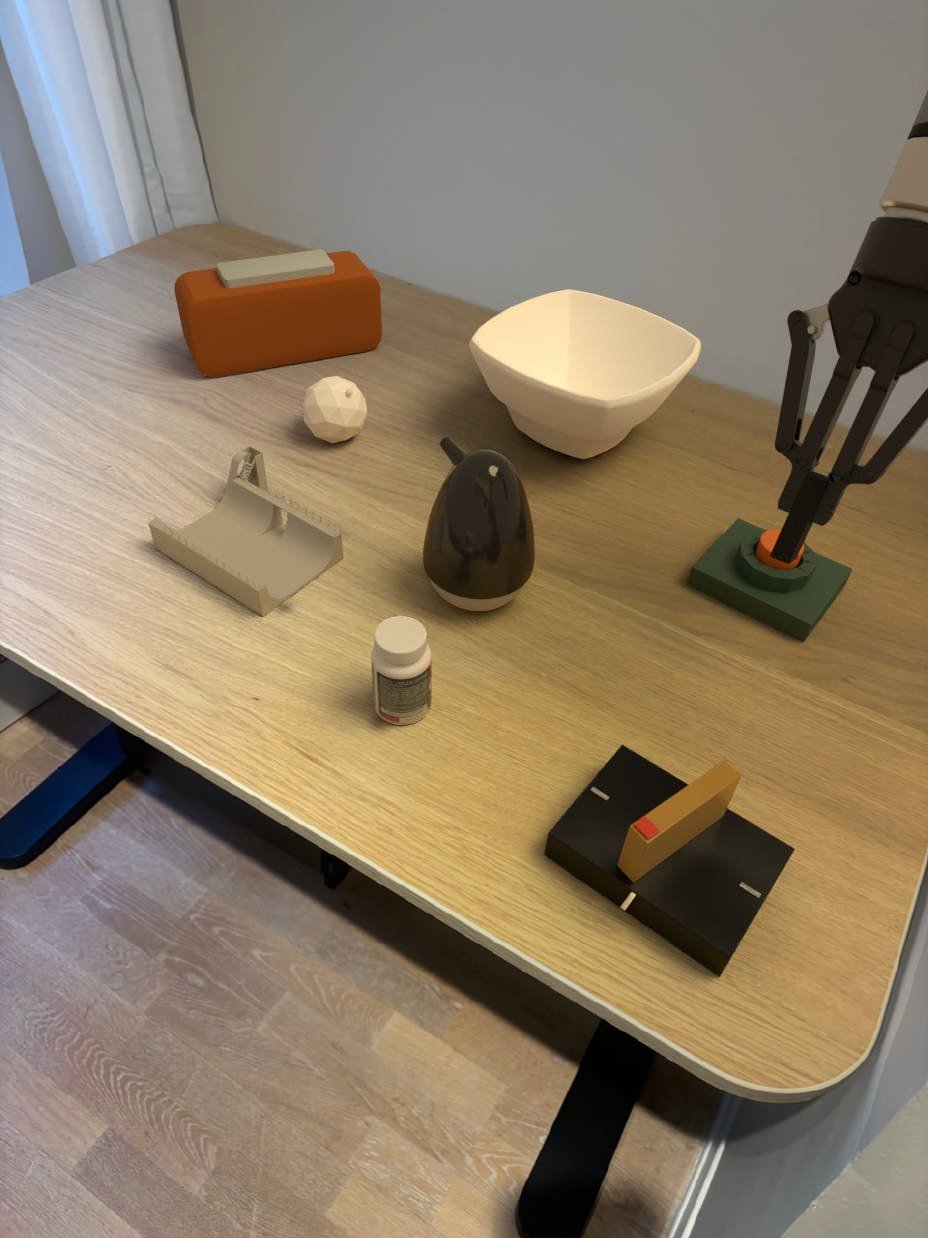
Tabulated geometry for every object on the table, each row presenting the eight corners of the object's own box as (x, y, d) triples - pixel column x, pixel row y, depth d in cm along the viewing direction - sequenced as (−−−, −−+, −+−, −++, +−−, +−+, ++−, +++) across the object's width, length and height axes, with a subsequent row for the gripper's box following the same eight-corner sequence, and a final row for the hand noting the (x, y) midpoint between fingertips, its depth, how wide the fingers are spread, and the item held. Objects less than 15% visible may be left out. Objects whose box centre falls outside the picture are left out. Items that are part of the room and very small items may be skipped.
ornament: (354, 411, 104) (384, 376, 97) (344, 463, 101) (374, 430, 94) (299, 386, 100) (327, 349, 94) (287, 439, 97) (314, 404, 91)
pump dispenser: (477, 540, 88) (485, 407, 77) (552, 594, 82) (572, 459, 72) (398, 584, 83) (396, 448, 72) (473, 645, 77) (483, 508, 67)
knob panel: (791, 855, 64) (805, 832, 61) (708, 997, 56) (720, 976, 54) (626, 754, 69) (633, 730, 67) (530, 870, 62) (535, 847, 60)
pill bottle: (441, 712, 72) (444, 642, 66) (391, 735, 70) (389, 665, 64) (413, 674, 75) (412, 604, 69) (363, 696, 73) (359, 625, 67)
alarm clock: (362, 321, 120) (358, 238, 112) (383, 349, 115) (380, 263, 107) (186, 350, 113) (168, 262, 105) (199, 381, 107) (182, 291, 99)
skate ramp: (155, 547, 85) (143, 506, 81) (256, 486, 93) (249, 445, 89) (263, 616, 79) (255, 574, 75) (361, 544, 87) (359, 503, 83)
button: (805, 555, 82) (811, 541, 81) (788, 576, 80) (794, 562, 79) (766, 537, 84) (771, 523, 83) (748, 558, 82) (753, 543, 80)
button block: (844, 585, 85) (859, 554, 82) (804, 642, 79) (818, 610, 76) (732, 534, 90) (742, 503, 87) (686, 583, 84) (696, 552, 81)
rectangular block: (707, 800, 63) (725, 757, 59) (723, 816, 62) (743, 773, 58) (616, 865, 59) (630, 823, 55) (633, 883, 58) (647, 841, 54)
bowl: (554, 365, 114) (565, 277, 105) (703, 431, 104) (727, 340, 95) (440, 432, 101) (442, 338, 93) (596, 514, 91) (613, 417, 83)
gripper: (1040, 261, 57) (876, 584, 66) (844, 213, 62) (717, 518, 72) (1042, 245, 51) (860, 603, 60) (824, 193, 56) (688, 530, 65)
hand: (783, 557), depth 66 cm, fingers closed
